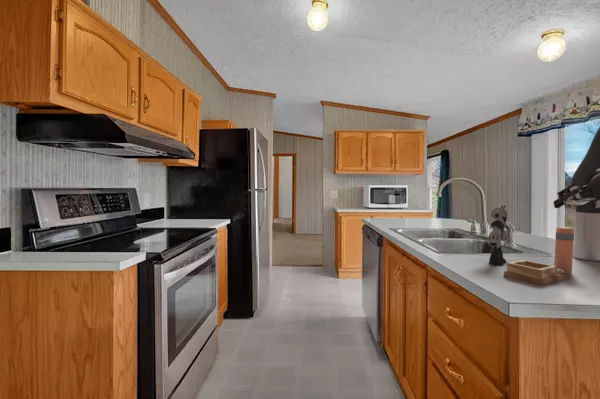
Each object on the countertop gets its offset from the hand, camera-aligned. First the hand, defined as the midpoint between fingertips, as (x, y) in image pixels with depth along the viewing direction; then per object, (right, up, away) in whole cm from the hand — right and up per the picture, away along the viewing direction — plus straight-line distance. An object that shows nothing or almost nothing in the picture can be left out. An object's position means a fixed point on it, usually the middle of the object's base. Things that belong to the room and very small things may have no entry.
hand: (568, 207), depth 103 cm
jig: (-10, -20, -1) cm, 23 cm away
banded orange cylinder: (+2, -20, +5) cm, 21 cm away
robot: (-12, -20, +17) cm, 28 cm away
